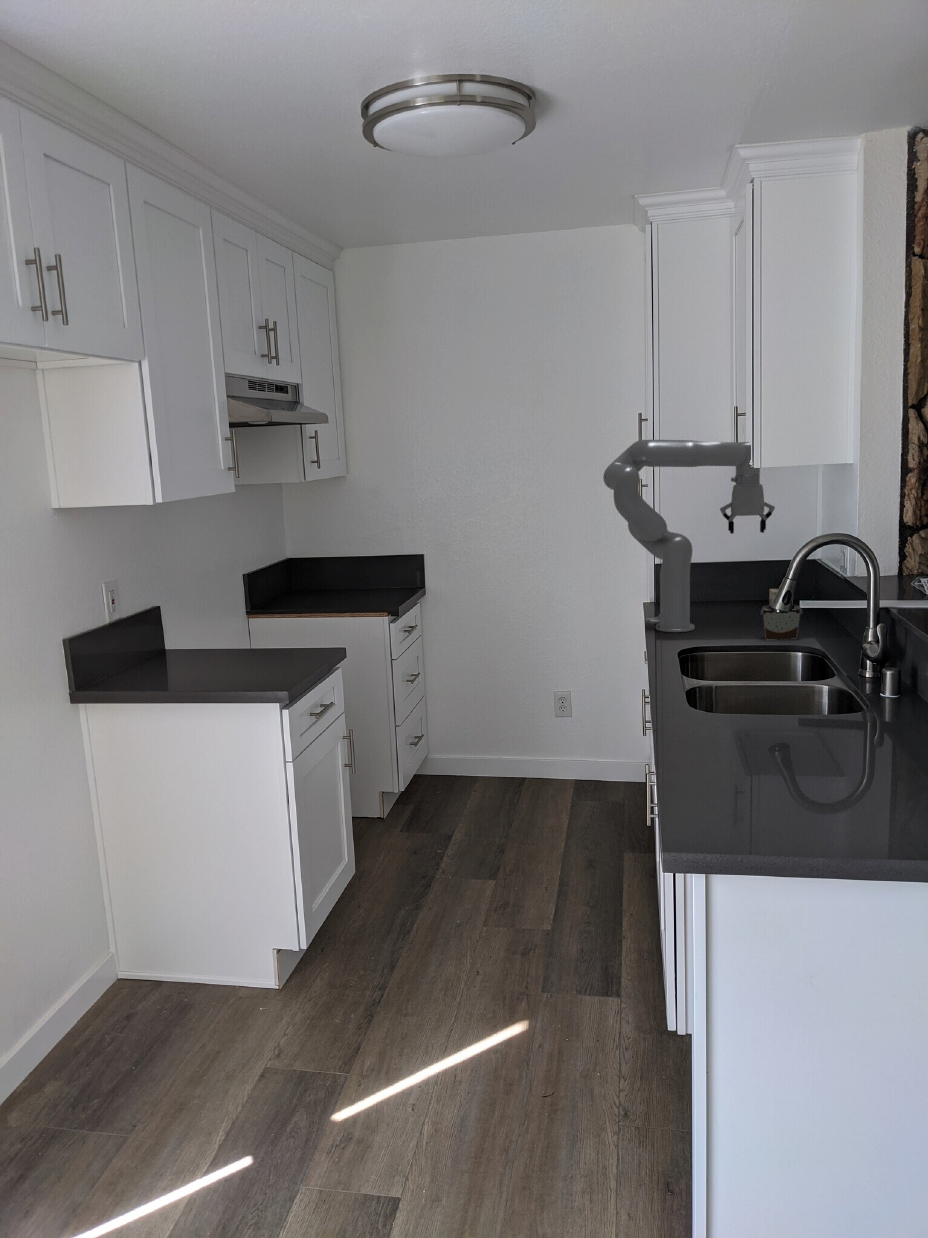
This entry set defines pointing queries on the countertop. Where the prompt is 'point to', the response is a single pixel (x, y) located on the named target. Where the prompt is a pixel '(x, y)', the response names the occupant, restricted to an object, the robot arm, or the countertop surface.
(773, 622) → the food container
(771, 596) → the maple block
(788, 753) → the countertop surface
